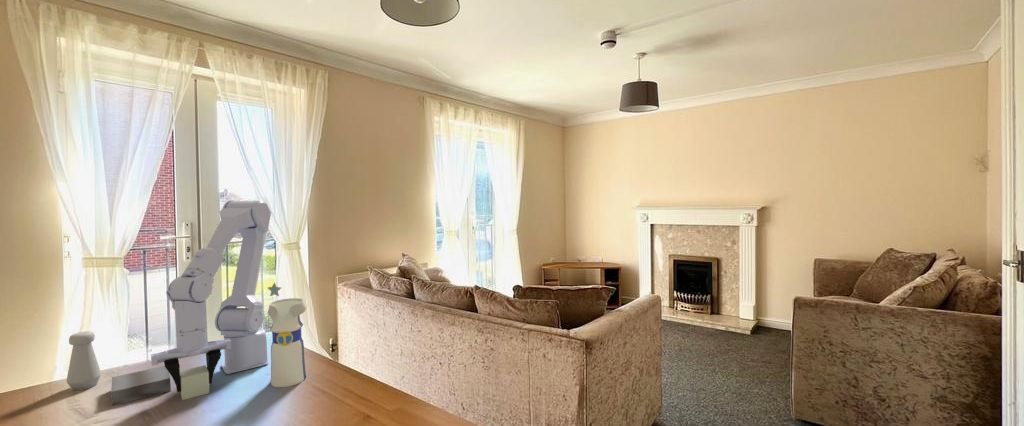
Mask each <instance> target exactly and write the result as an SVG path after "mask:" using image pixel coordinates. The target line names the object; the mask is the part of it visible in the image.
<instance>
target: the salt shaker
mask: <svg viewBox="0 0 1024 426" xmlns="http://www.w3.org/2000/svg"><path fill="white" fill-rule="evenodd" d="M95 338H96V337H95V332H93V331H88V330H87V331H80V332H76V333H74V334H73V333H72V334H71V335H70V336H69V338H68V344H69V345H71V346H72V349H71V354H70V359H69V366H68V371H67V376H66V383H67V385H68V386H69V387H70V388H71V390H72V391H83V390H87V389H91V388H93V387H95V386H97V384H98V383H99V381H100V380H99V379H100V377H101V375H102V374H101V373H102V371H101V369H100V365H99V363H98V360H97V357H96V353H95V351H94V347H93V344H92V342H94V340H95Z"/></svg>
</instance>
